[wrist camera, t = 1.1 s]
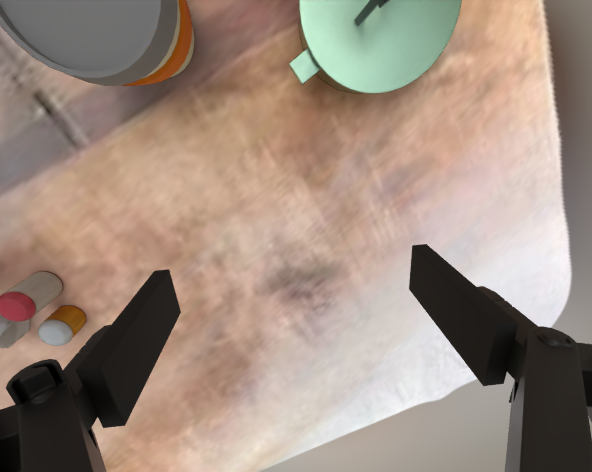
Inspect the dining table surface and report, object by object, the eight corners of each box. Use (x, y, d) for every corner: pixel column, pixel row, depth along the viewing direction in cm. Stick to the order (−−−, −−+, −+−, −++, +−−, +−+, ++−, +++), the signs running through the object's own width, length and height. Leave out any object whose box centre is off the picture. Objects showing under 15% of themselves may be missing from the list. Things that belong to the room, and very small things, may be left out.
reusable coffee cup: (220, 89, 36) (185, 72, 22) (117, 101, 36) (17, 91, 22) (196, -42, 31) (132, -167, 18) (77, -29, 31) (-82, -146, 17)
